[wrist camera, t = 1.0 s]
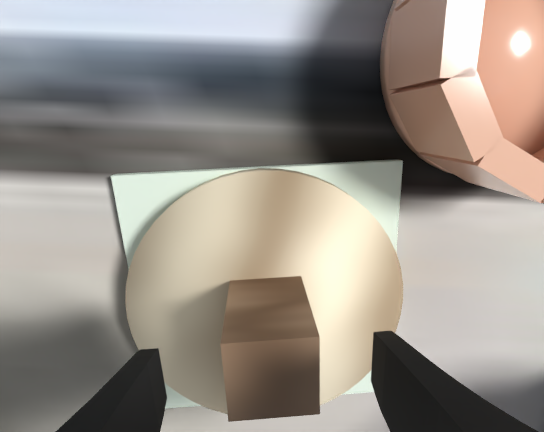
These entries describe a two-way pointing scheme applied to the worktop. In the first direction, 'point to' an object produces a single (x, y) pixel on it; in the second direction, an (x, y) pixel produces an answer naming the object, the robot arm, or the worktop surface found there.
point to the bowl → (469, 88)
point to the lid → (263, 293)
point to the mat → (173, 184)
